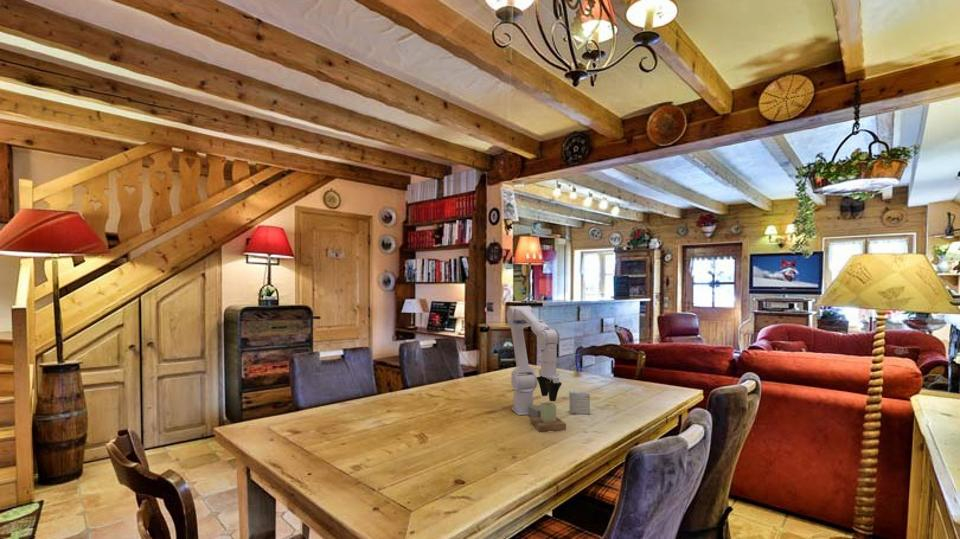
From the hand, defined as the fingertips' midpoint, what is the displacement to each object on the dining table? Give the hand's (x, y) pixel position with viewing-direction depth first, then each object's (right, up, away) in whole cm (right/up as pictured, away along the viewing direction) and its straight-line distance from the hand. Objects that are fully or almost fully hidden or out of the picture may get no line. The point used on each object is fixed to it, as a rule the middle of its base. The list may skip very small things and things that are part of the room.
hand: (548, 398), depth 164 cm
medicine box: (+16, -11, +17) cm, 26 cm away
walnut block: (0, -11, -1) cm, 11 cm away
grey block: (-1, -11, +11) cm, 16 cm away
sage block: (0, -8, -1) cm, 8 cm away
